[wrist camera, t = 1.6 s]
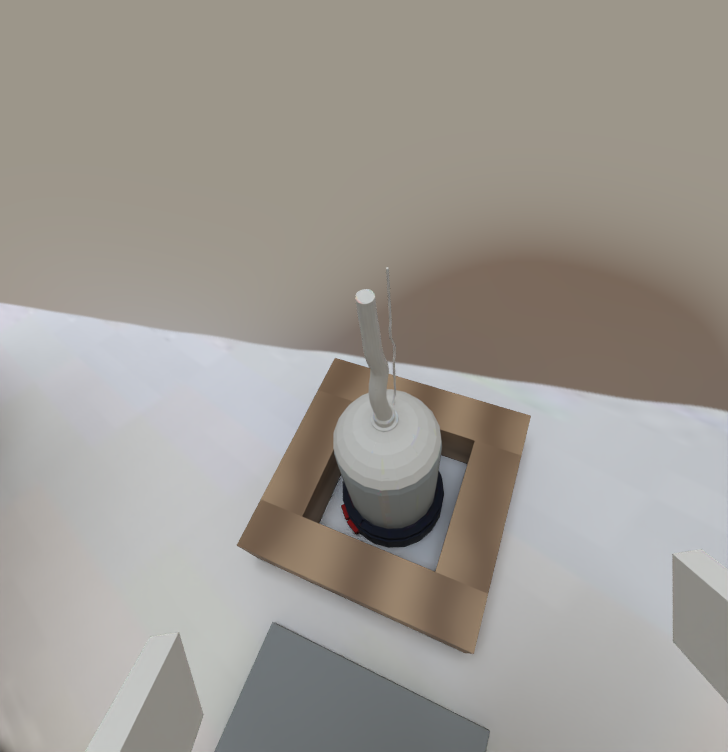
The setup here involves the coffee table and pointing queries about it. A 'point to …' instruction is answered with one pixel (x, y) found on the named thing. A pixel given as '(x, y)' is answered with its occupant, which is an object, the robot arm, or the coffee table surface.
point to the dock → (368, 563)
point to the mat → (335, 707)
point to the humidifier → (387, 450)
